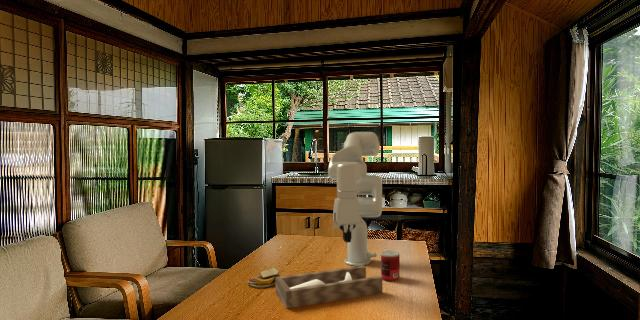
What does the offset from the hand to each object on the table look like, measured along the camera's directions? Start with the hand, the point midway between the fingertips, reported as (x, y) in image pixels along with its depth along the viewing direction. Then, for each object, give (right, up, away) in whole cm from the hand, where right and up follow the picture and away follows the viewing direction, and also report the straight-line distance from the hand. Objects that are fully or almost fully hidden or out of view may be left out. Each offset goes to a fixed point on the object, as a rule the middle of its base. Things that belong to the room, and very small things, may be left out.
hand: (347, 241), depth 154 cm
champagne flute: (+1, -15, -2) cm, 15 cm away
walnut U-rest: (-7, -19, -2) cm, 21 cm away
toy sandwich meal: (-34, -20, +11) cm, 41 cm away
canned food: (+19, -19, +13) cm, 30 cm away
